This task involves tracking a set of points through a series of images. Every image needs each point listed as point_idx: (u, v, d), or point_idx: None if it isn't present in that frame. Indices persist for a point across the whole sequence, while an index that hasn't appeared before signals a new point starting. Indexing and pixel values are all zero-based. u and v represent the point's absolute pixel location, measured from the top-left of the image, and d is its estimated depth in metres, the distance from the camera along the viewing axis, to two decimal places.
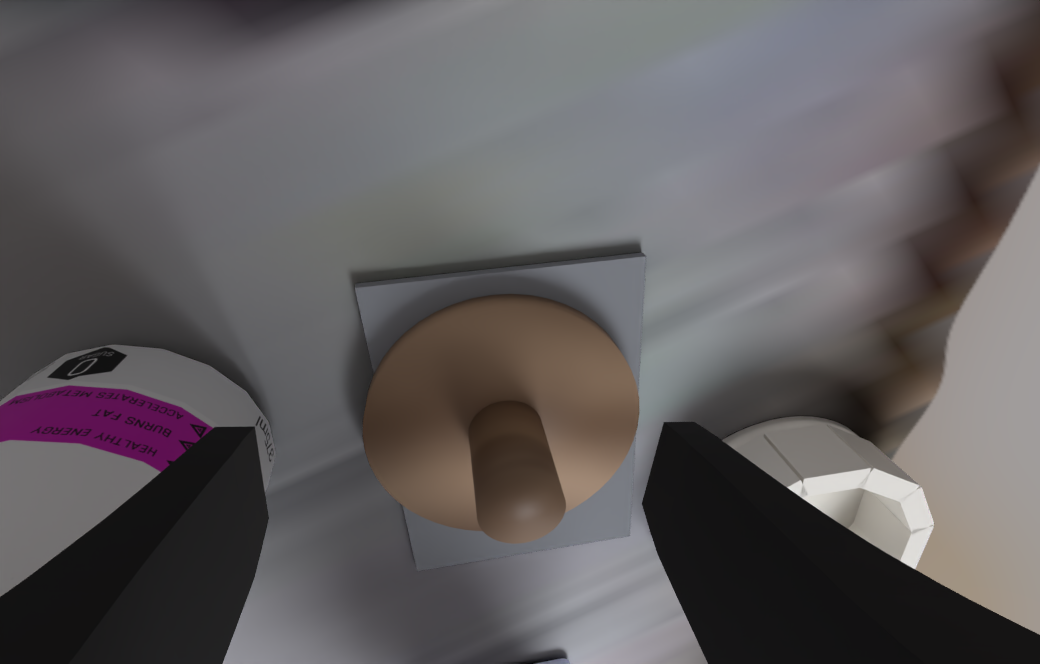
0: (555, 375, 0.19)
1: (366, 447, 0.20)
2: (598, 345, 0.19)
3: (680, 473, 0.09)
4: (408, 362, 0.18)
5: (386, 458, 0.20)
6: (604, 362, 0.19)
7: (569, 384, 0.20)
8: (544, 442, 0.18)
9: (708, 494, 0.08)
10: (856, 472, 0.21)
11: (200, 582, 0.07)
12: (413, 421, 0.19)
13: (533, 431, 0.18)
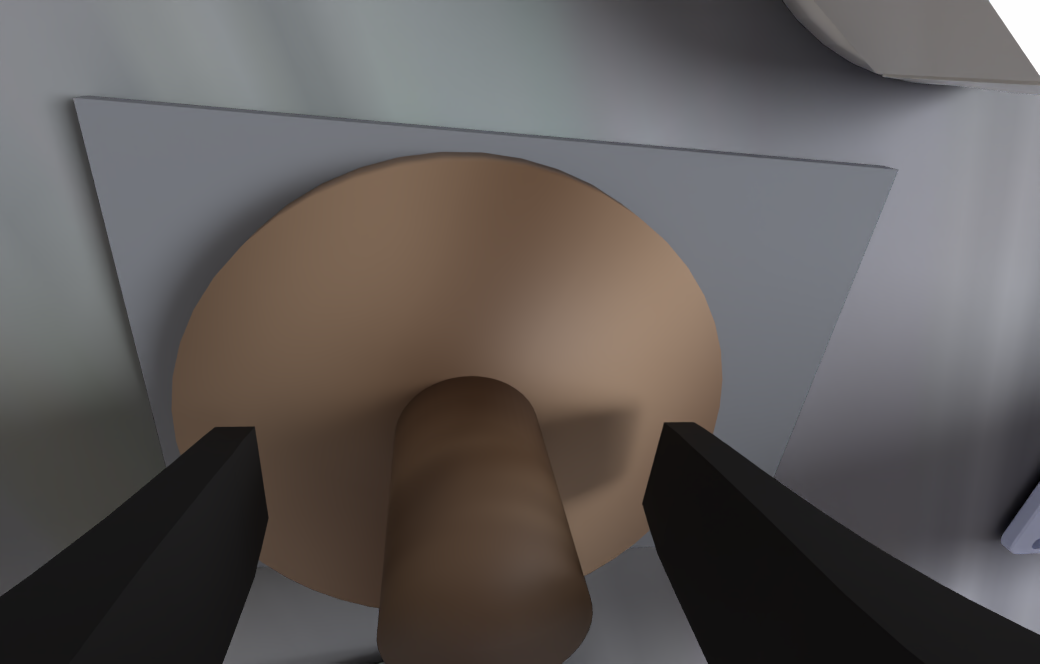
0: (345, 347, 0.09)
1: None
2: (273, 256, 0.08)
3: (680, 473, 0.09)
4: (293, 557, 0.11)
5: None
6: (322, 244, 0.08)
7: (374, 321, 0.09)
8: (428, 454, 0.08)
9: (708, 494, 0.08)
10: None
11: (200, 581, 0.07)
12: None
13: (406, 460, 0.08)
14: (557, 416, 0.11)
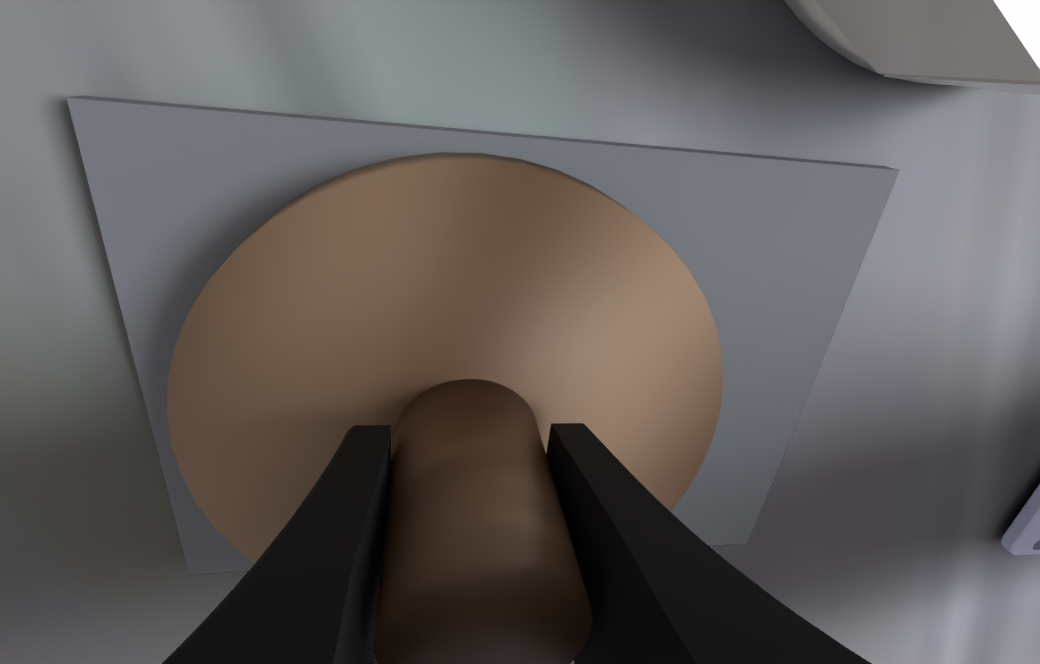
0: (342, 350, 0.09)
1: None
2: (270, 258, 0.08)
3: (559, 477, 0.09)
4: None
5: None
6: (319, 246, 0.08)
7: (371, 323, 0.09)
8: (426, 458, 0.08)
9: (577, 499, 0.08)
10: None
11: (371, 572, 0.07)
12: None
13: (403, 465, 0.08)
14: (556, 420, 0.10)
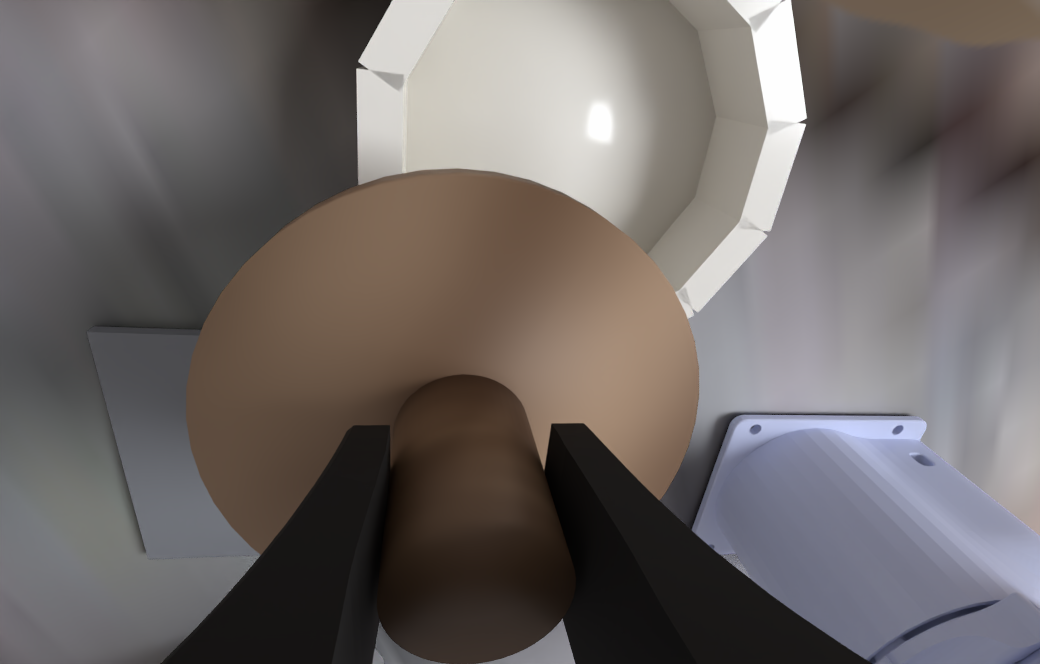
0: (357, 339, 0.10)
1: None
2: (301, 248, 0.09)
3: (560, 476, 0.09)
4: None
5: None
6: (347, 241, 0.09)
7: (385, 316, 0.10)
8: (430, 438, 0.09)
9: (578, 499, 0.08)
10: (364, 97, 0.12)
11: (371, 572, 0.07)
12: None
13: (408, 444, 0.09)
14: (545, 419, 0.11)
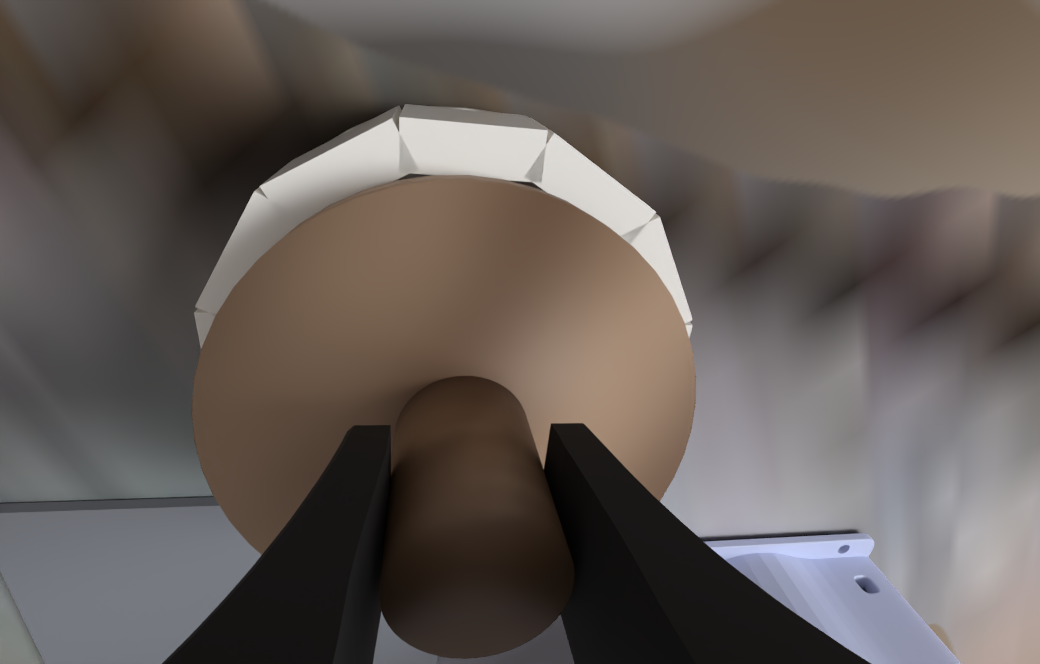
0: (364, 336, 0.10)
1: None
2: (314, 246, 0.09)
3: (559, 477, 0.09)
4: None
5: None
6: (359, 241, 0.09)
7: (393, 315, 0.10)
8: (434, 434, 0.09)
9: (577, 499, 0.08)
10: None
11: (371, 572, 0.07)
12: None
13: (411, 440, 0.09)
14: (546, 423, 0.12)
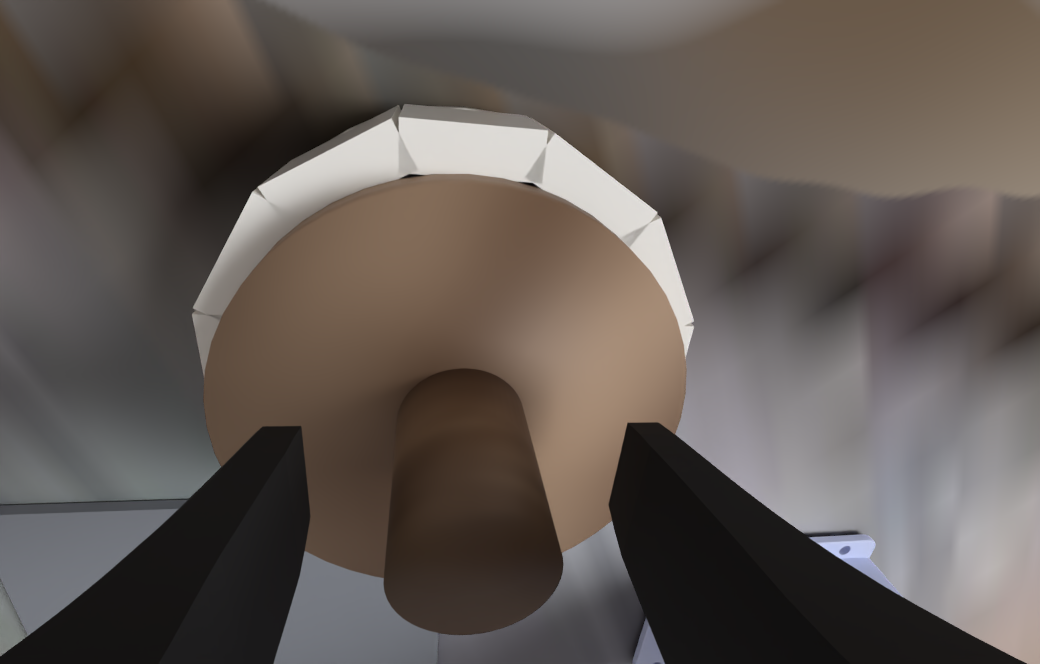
0: (366, 332, 0.11)
1: None
2: (318, 247, 0.10)
3: (641, 474, 0.09)
4: None
5: None
6: (362, 242, 0.10)
7: (395, 312, 0.10)
8: (434, 430, 0.10)
9: (666, 496, 0.08)
10: (205, 337, 0.11)
11: (259, 579, 0.07)
12: None
13: (412, 434, 0.10)
14: (541, 411, 0.12)
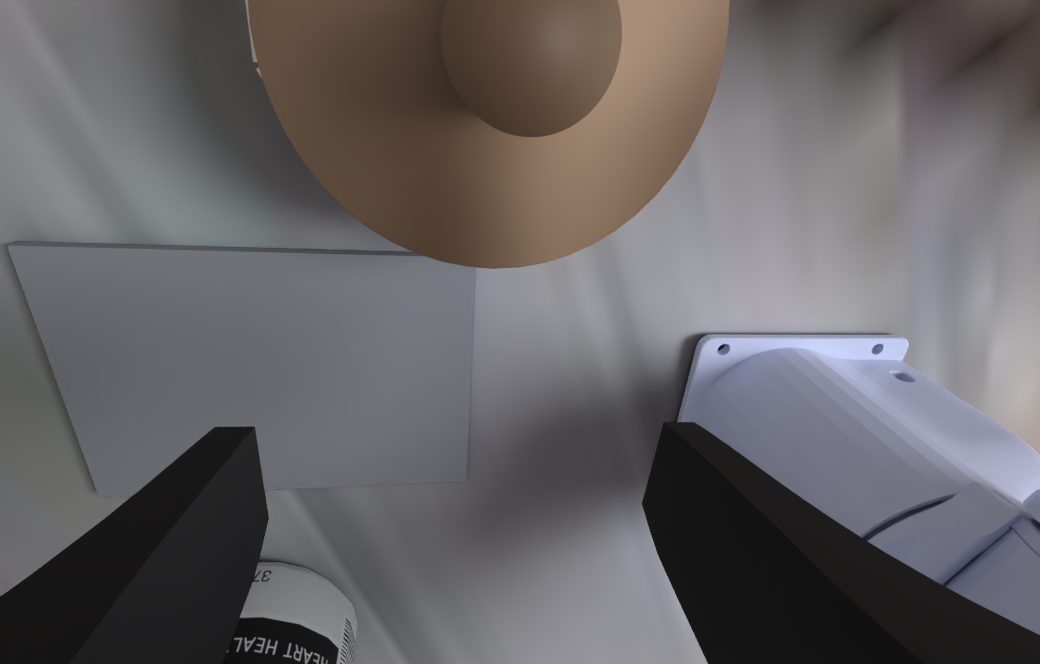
0: None
1: (461, 263, 0.14)
2: None
3: (680, 473, 0.09)
4: (330, 160, 0.12)
5: (489, 244, 0.14)
6: None
7: None
8: None
9: (708, 494, 0.08)
10: None
11: (201, 582, 0.07)
12: (435, 187, 0.13)
13: None
14: None
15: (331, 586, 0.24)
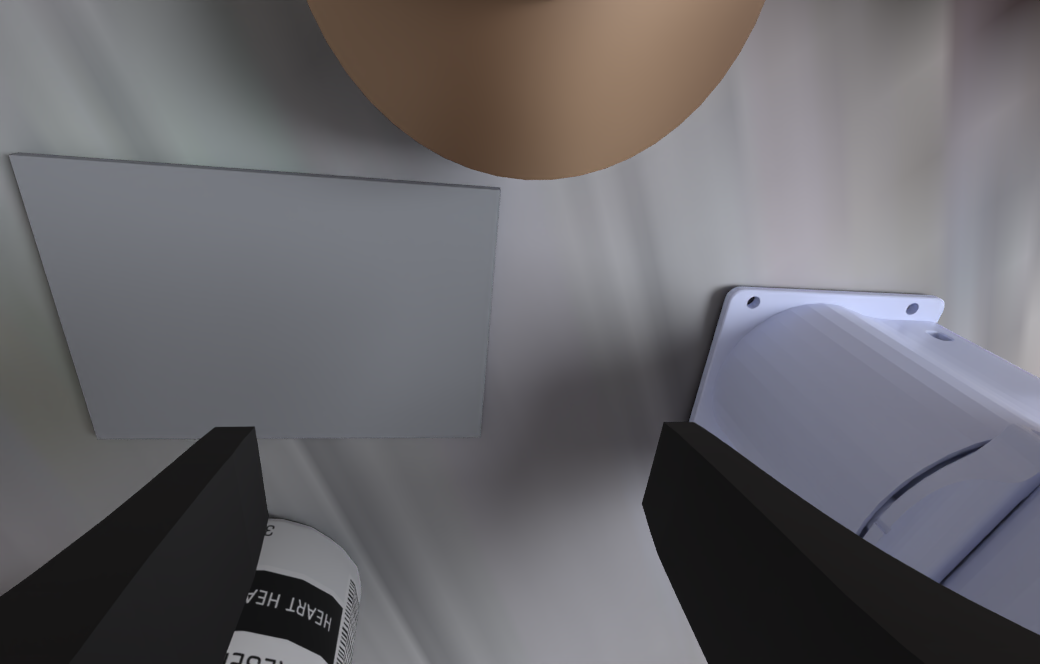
0: None
1: (492, 171, 0.13)
2: None
3: (680, 473, 0.09)
4: (357, 45, 0.11)
5: (522, 151, 0.13)
6: None
7: None
8: None
9: (708, 494, 0.08)
10: None
11: (201, 582, 0.07)
12: (468, 82, 0.12)
13: None
14: None
15: (336, 545, 0.23)
